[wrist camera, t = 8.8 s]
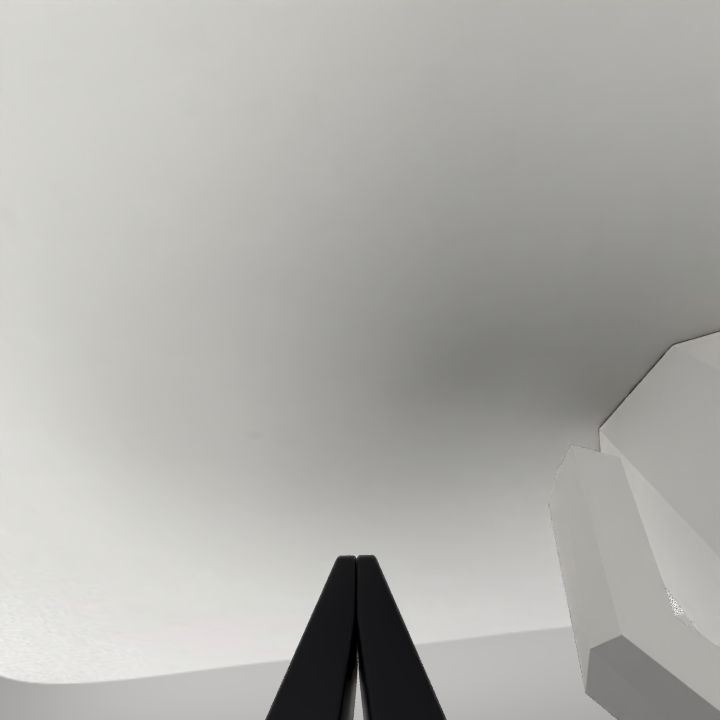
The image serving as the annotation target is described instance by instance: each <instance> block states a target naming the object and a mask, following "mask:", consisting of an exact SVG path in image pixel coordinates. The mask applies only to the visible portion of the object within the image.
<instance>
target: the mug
mask: <svg viewBox="0 0 720 720" xmlns="http://www.w3.org/2000/svg"><path fill="white" fill-rule="evenodd" d="M599 438H600V452H598V451H594V450H591V449H587V448H583V447H579V446H575V445H570V447H569V449H568V451H567V453H566V455H565V457H564V459H563V461H562V463H561V466H560V468H559V470H558V473H557V477H556V480H555V484H554V487H553V491H552V494H551V498H550V501H549V504H548V505H549V510H550V515H551V520H552V525H553V530H554V535H555V541H556V546H557V551H558V556H559V561H560V566H561V571H562V576H563V581H564V586H565V591H566V596H567V601H568V607H569V612H570V617H571V622H572V627H573V632H574V637H575V642H576V647H577V652H578V657H579V662H580V667H581V673H582V678H583V682H584V688H585V693H586V694H588V695H589V696H590V697H591V698H592V699H593V700H595V701H596V702H597V703H598V704H599V705H601V706H602V707H603V708H604V709H605V710H607V711H608V712H609V713H610V714H611V715H612V716H614V717H615V718H616V719H617V720H720V332H717V333H713V334H710V335H706V336H703V337H700V338H696V339H693V340H689V341H686V342H682V343H679V344H676V345H673V346H672V347H671V348H670V349H669V350H668V351H667V352H666V354H665V355H664V356H663V357H662V358H661V359H660V360H659V362H658V363H657V364H656V365H655V366H654V367H653V368H652V370H651V371H650V372H649V373H648V374H647V375H646V376H645V378H644V379H643V380H642V381H641V382H640V383H639V384H638V385H637V387H636V388H635V389H634V390H633V391H632V392H631V393H630V395H629V396H628V397H627V398H626V399H625V400H624V401H623V403H622V404H621V405H620V406H619V407H618V408H617V409H616V411H615V412H614V413H613V414H612V415H611V416H610V417H609V418H608V420H607V421H606V422H605V423H604V424H603V425H602V426H601V428H600V429H599ZM665 587H666V589H667V590H668V591H669V593H670V594H671V595H672V597H673V598H674V599H675V601H676V602H677V603H678V605H679V606H680V607H681V609H682V610H683V611H684V613H685V614H686V615H687V617H688V618H689V619H690V621H691V622H692V623H693V625H694V626H695V627H696V629H697V630H698V632H699V633H698V632H697V631H696V630H694V629H693V628H691V627H690V626H689V625H687V624H686V623H685V622H683V621H682V620H680V619H679V618H678V617H676V616H675V615H674V612H673V609H672V606H671V603H670V601H669V598H668V595H667V592H666V589H665Z"/></svg>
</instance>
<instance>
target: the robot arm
mask: <svg viewBox="0 0 720 720" xmlns="http://www.w3.org/2000/svg"><path fill="white" fill-rule="evenodd" d="M358 664H359V679H360V690H361V699H362V708H363V717H364V720H446V717H445V715H444V713H443V710H442V708H441V706H440V704H439V701H438V699H437V697H436V694H435V692H434V690H433V687H432V685H431V683H430V680H429V678H428V676H427V674H426V671H425V669H424V667H423V664H422V662H421V660H420V657H419V655H418V653H417V651H416V648H415V646H414V644H413V641H412V639H411V637H410V634H409V632H408V630H407V628H406V625H405V623H404V621H403V618H402V616H401V614H400V611H399V609H398V607H397V605H396V602H395V600H394V598H393V595H392V593H391V591H390V588H389V586H388V584H387V582H386V579H385V577H384V575H383V572H382V570H381V568H380V565H379V563H378V561H377V559H376V557H375V556H374V555H359V556H358V557H357V560H356V557H355V556H353V555H346V556H339V557H338V558H337V559H336V561H335V563H334V566H333V568H332V570H331V572H330V575H329V577H328V579H327V581H326V584H325V586H324V588H323V591H322V593H321V595H320V597H319V600H318V602H317V604H316V606H315V609H314V611H313V613H312V615H311V618H310V620H309V622H308V624H307V627H306V629H305V631H304V633H303V636H302V638H301V640H300V642H299V645H298V647H297V649H296V652H295V654H294V656H293V658H292V661H291V663H290V665H289V667H288V670H287V672H286V674H285V676H284V679H283V681H282V683H281V685H280V688H279V690H278V692H277V695H276V697H275V699H274V701H273V703H272V706H271V708H270V710H269V713H268V715H267V717H266V719H265V720H353V718H354V706H355V695H356V684H357V669H358Z"/></svg>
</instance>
